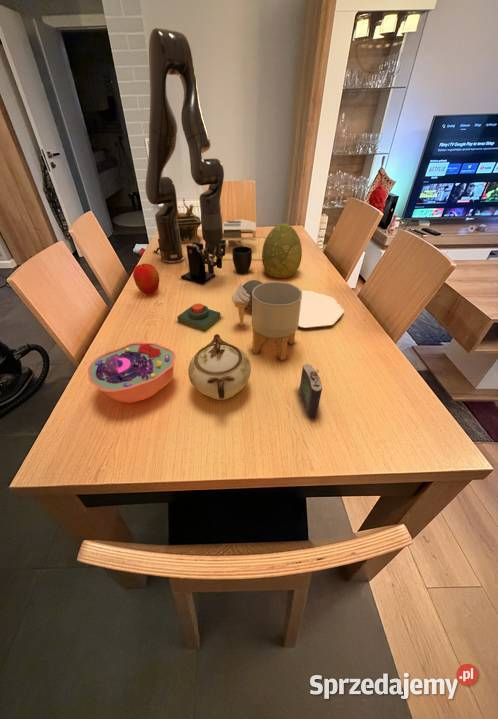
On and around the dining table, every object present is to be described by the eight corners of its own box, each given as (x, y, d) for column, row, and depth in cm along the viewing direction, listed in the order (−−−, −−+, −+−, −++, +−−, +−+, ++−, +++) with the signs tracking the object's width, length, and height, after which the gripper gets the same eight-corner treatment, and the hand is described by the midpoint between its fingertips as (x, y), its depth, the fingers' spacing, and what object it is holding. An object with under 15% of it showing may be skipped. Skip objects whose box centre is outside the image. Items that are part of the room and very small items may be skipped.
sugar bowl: (256, 415, 69) (256, 367, 59) (190, 422, 68) (180, 374, 58) (246, 360, 84) (245, 315, 74) (192, 365, 83) (184, 319, 73)
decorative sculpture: (271, 262, 137) (273, 216, 124) (305, 269, 131) (311, 221, 118) (254, 276, 126) (255, 226, 113) (291, 284, 120) (296, 233, 107)
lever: (219, 265, 119) (220, 260, 117) (211, 269, 116) (213, 265, 114) (195, 247, 120) (196, 242, 118) (187, 251, 117) (188, 246, 115)
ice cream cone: (252, 322, 99) (252, 280, 89) (246, 331, 95) (246, 288, 85) (236, 319, 100) (235, 277, 91) (230, 328, 96) (228, 285, 87)
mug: (251, 264, 136) (251, 243, 130) (251, 275, 126) (252, 253, 120) (233, 264, 136) (233, 243, 130) (232, 275, 127) (231, 253, 120)
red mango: (153, 300, 110) (146, 269, 103) (132, 297, 113) (124, 266, 105) (166, 289, 117) (160, 259, 109) (146, 286, 119) (139, 256, 111)
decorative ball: (272, 311, 104) (274, 285, 98) (246, 317, 101) (246, 290, 95) (260, 298, 111) (261, 273, 105) (235, 304, 108) (234, 278, 102)
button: (190, 311, 97) (190, 307, 96) (197, 307, 100) (196, 302, 99) (199, 314, 96) (199, 310, 95) (206, 309, 98) (205, 305, 97)
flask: (297, 390, 75) (302, 357, 68) (308, 389, 76) (314, 356, 69) (307, 419, 68) (314, 386, 61) (320, 417, 69) (328, 385, 62)
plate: (292, 289, 117) (293, 285, 116) (351, 306, 107) (352, 303, 106) (259, 315, 102) (259, 311, 101) (323, 338, 92) (323, 334, 91)
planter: (245, 339, 92) (244, 286, 80) (283, 330, 95) (287, 278, 84) (262, 365, 83) (264, 309, 71) (303, 354, 86) (311, 299, 75)
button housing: (178, 322, 99) (176, 311, 97) (194, 309, 105) (193, 299, 103) (205, 331, 95) (203, 320, 93) (220, 318, 101) (220, 307, 99)
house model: (269, 259, 140) (270, 232, 132) (205, 259, 140) (203, 232, 132) (267, 238, 162) (268, 214, 155) (212, 238, 163) (210, 214, 155)
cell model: (184, 403, 72) (177, 368, 65) (95, 422, 68) (77, 387, 60) (176, 360, 84) (169, 326, 77) (101, 373, 80) (86, 339, 73)
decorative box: (201, 236, 165) (197, 196, 152) (203, 242, 158) (199, 201, 145) (164, 239, 161) (156, 198, 149) (164, 245, 154) (156, 203, 141)
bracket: (215, 276, 126) (212, 243, 117) (202, 285, 120) (198, 250, 111) (194, 271, 130) (190, 238, 121) (181, 279, 124) (175, 245, 115)
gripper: (214, 219, 113) (217, 262, 124) (191, 229, 104) (196, 275, 115) (231, 221, 111) (233, 266, 122) (208, 232, 101) (212, 279, 112)
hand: (215, 270), depth 118 cm, fingers closed on lever, 5 cm apart
